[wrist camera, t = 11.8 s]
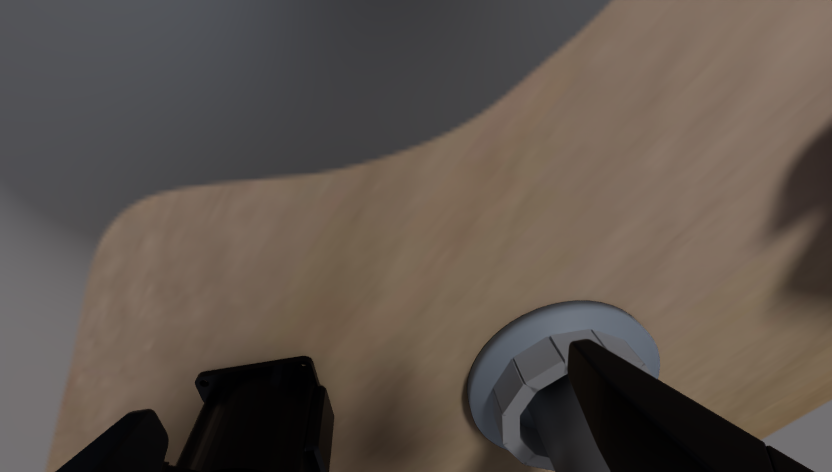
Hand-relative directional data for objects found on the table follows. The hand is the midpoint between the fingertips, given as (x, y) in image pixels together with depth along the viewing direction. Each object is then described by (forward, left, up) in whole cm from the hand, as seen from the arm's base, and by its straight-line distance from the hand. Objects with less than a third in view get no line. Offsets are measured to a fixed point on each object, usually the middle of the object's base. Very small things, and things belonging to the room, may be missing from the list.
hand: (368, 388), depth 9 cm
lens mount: (+10, -14, -12) cm, 21 cm away
